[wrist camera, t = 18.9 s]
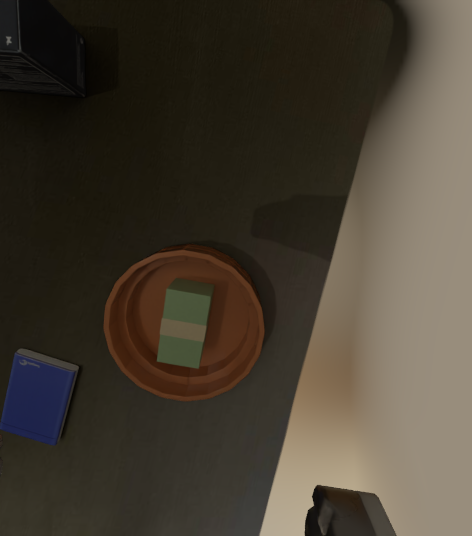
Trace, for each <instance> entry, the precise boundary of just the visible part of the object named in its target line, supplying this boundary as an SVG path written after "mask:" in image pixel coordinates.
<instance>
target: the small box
mask: <svg viewBox="0 0 472 536" xmlns="http://www.w3.org/2000/svg"><path fill="white" fill-rule="evenodd" d="M85 83H86V82H85V45H84V38H83V37H82V36H81V35H80V34H79V33H78V32H77V31H76V30H75V29H74V27H73V26H72V25H71V24H70V23H69V22H68V21H67V20H66V19H65V18H64V17H63V16H62V15H61V14H60V13H59V12H58V11H57V10H56V9H55V8H54V7H53V5H52V4H51V3H50V2H49V1H48V0H0V90H4V91H15V92H24V93H38V94H47V95H60V96H72V97H83V98H84V97H85V95H86V88H85Z"/></svg>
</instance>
